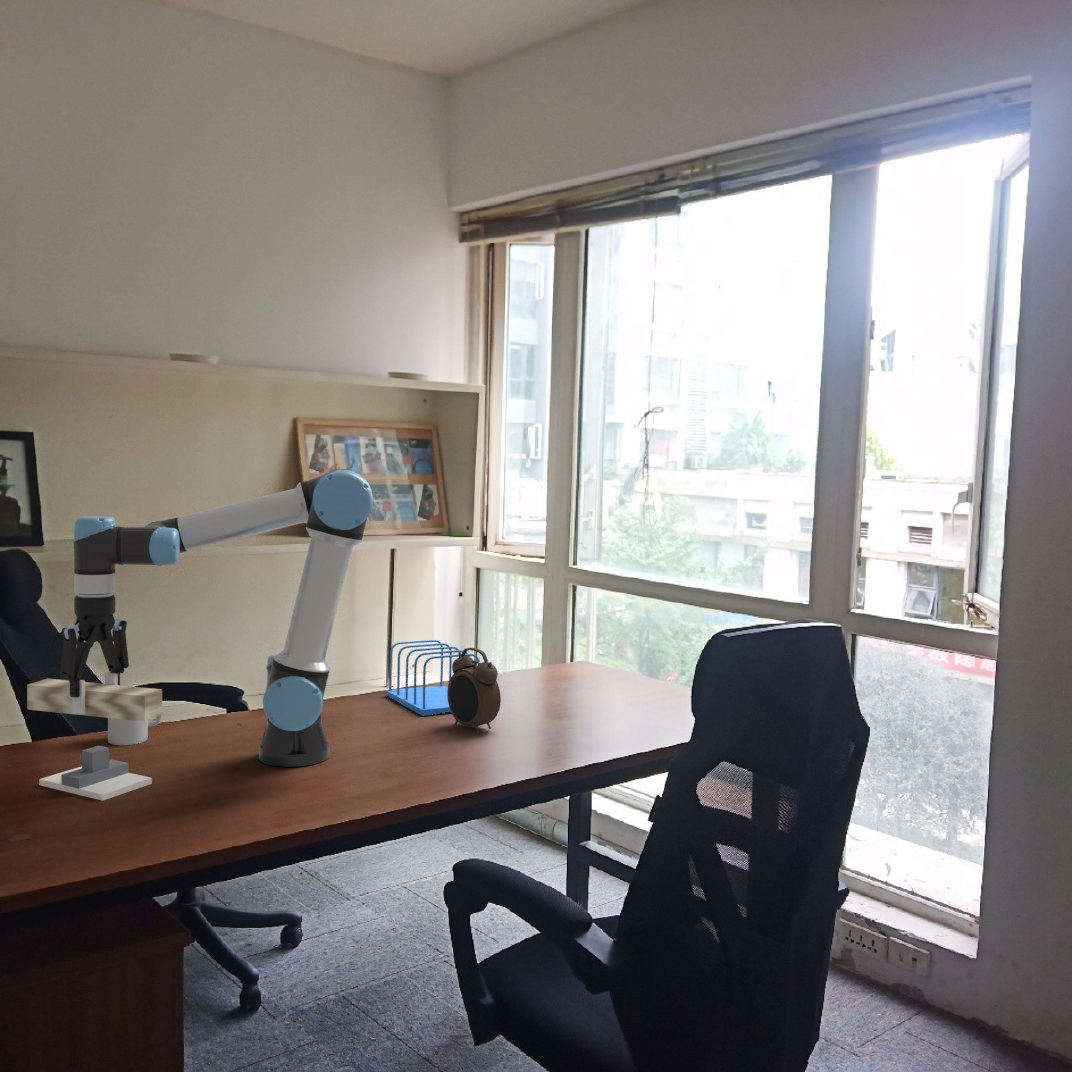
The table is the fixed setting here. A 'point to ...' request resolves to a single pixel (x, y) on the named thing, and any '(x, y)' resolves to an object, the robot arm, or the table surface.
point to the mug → (129, 730)
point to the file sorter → (423, 697)
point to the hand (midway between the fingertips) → (95, 708)
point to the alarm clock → (473, 691)
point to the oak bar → (96, 700)
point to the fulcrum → (97, 776)
